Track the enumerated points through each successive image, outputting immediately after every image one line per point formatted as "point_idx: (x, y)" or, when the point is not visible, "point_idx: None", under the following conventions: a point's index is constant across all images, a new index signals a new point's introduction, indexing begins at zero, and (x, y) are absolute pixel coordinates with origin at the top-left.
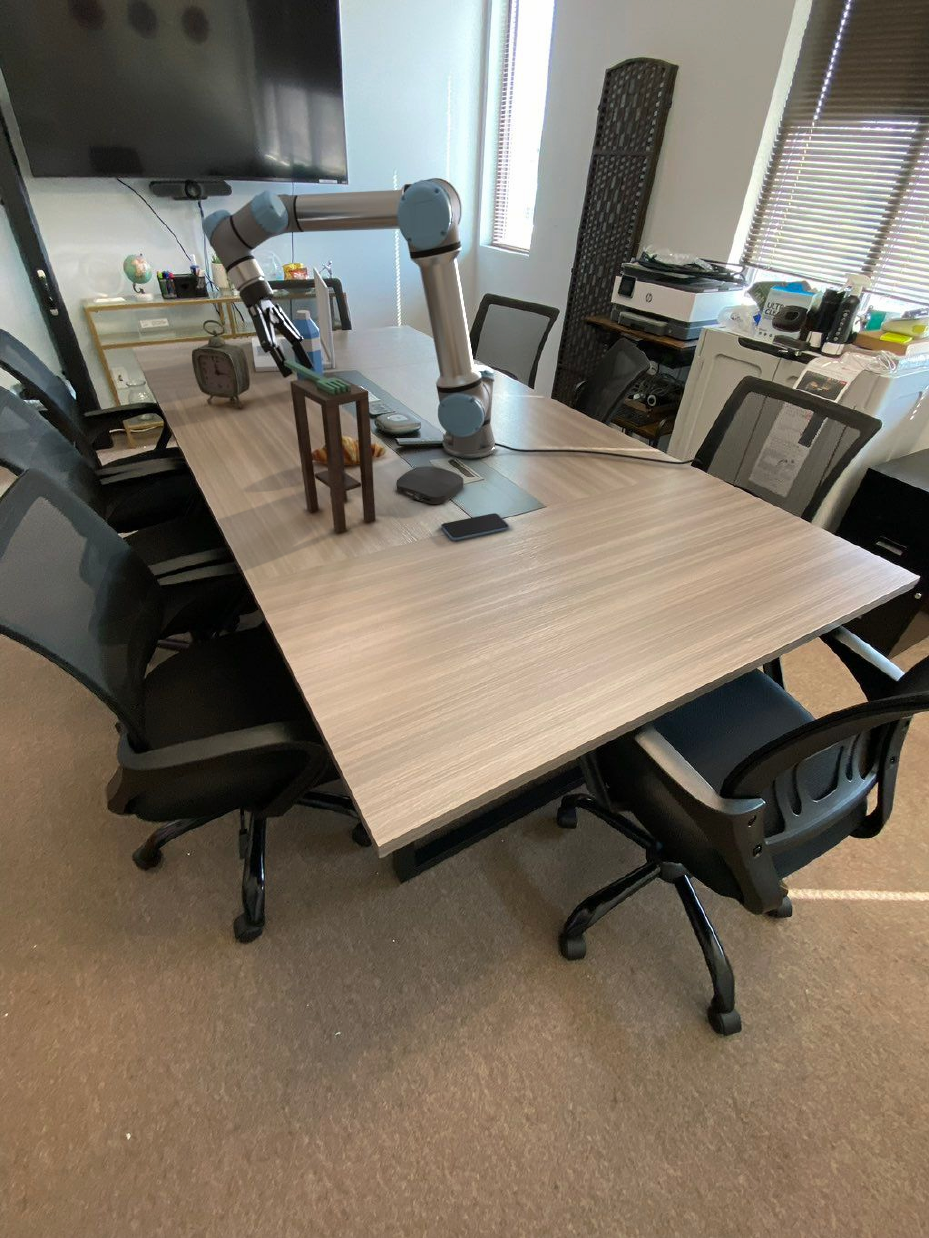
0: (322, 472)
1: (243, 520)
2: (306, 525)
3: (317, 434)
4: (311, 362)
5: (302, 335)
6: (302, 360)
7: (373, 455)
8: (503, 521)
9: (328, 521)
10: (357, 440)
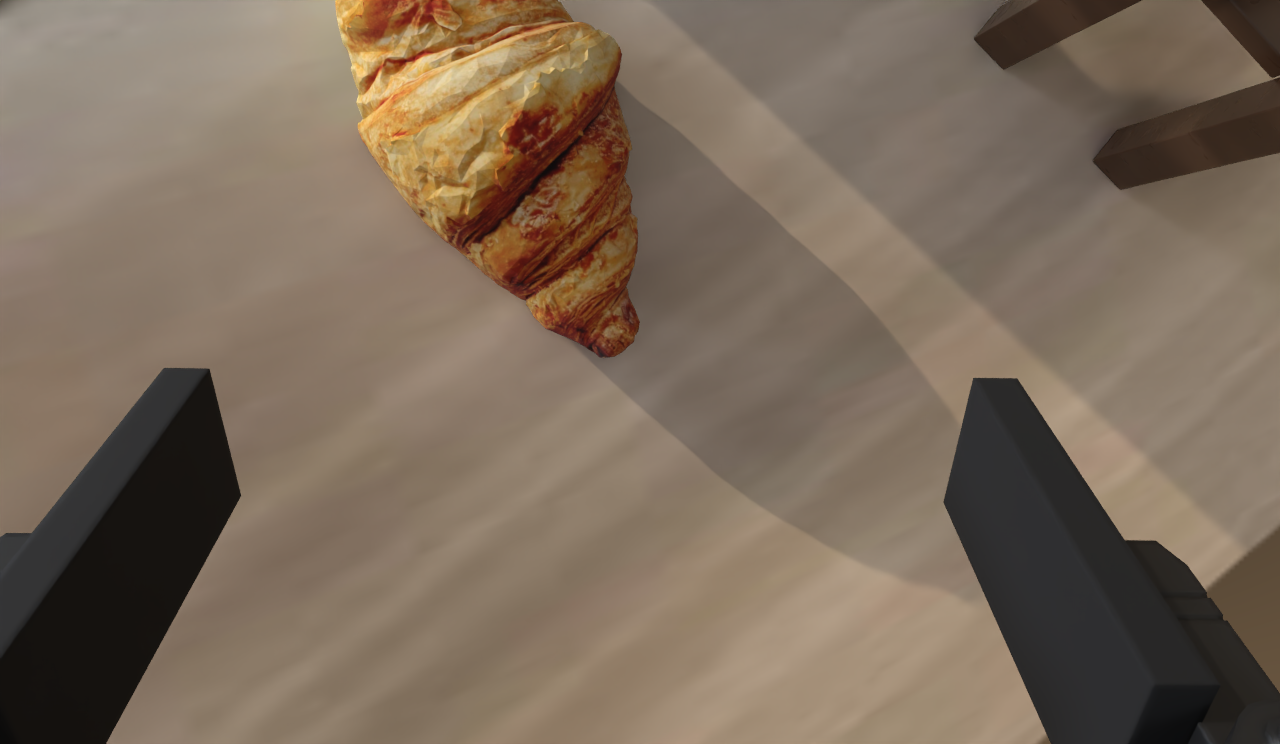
0: (1271, 26)
1: (1257, 454)
2: None
3: None
4: (151, 405)
5: None
6: (172, 551)
7: None
8: None
9: (1199, 54)
10: (454, 16)
